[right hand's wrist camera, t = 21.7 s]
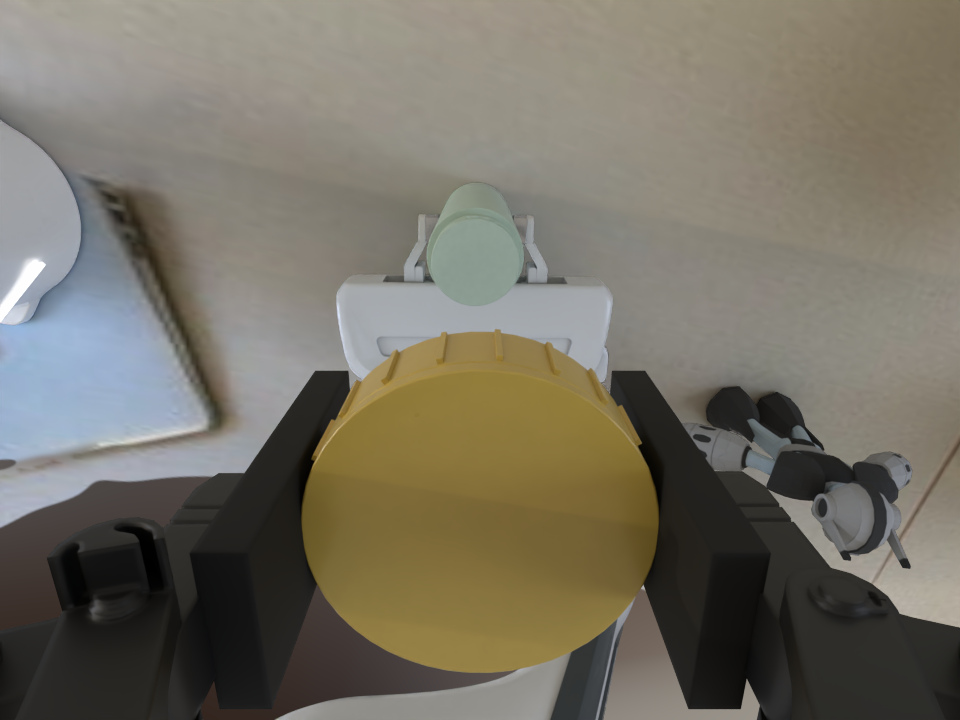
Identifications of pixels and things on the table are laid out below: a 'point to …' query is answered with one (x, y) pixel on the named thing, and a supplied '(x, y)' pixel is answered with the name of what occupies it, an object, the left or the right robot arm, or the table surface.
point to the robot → (807, 469)
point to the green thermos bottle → (475, 246)
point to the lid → (480, 505)
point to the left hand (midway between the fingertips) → (475, 215)
